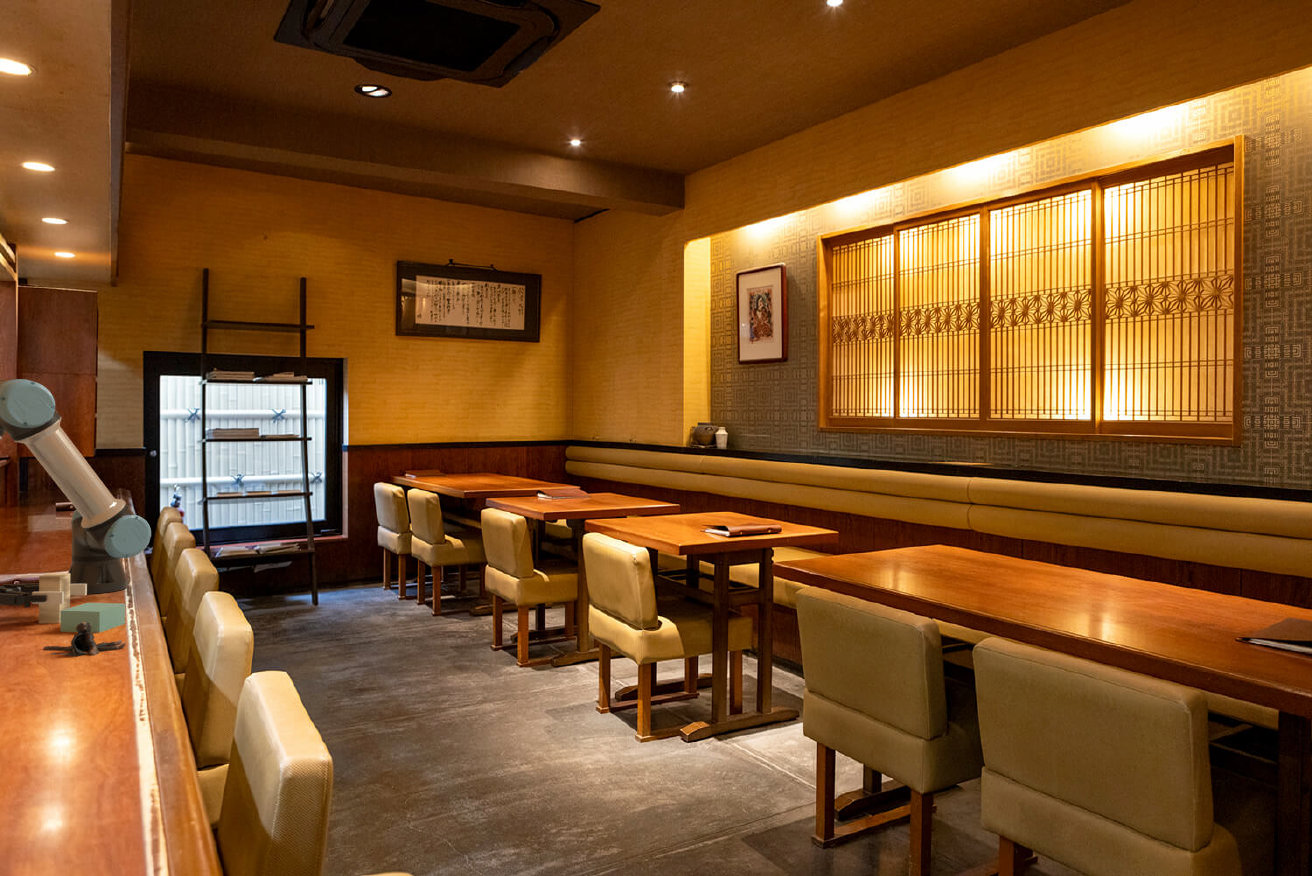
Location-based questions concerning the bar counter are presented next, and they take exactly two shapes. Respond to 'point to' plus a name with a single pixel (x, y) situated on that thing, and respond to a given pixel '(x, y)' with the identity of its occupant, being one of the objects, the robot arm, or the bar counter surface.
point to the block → (54, 584)
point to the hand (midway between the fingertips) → (74, 593)
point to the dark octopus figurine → (85, 643)
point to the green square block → (93, 616)
